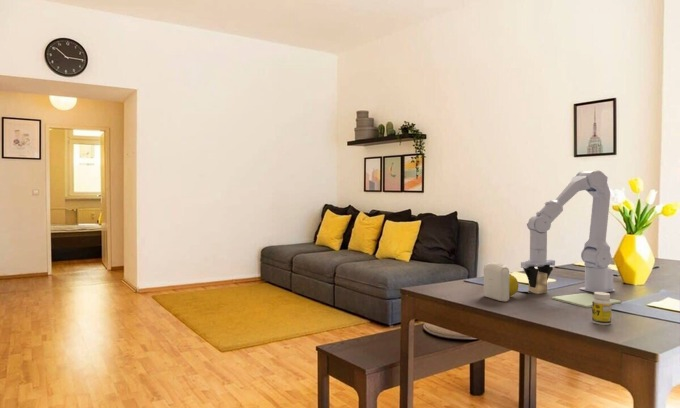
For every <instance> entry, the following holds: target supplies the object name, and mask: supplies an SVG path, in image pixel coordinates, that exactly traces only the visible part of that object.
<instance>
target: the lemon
mask: <svg viewBox="0 0 680 408" xmlns="http://www.w3.org/2000/svg"><path fill="white" fill-rule="evenodd" d="M518 290H519V282H518V279H517V277H515V276H514V275H512V274H511V273H509V298H511V297H512V296H513V295H516V293H517V292H518Z"/></svg>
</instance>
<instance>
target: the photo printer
mask: <svg viewBox="0 0 680 408" xmlns="http://www.w3.org/2000/svg"><path fill="white" fill-rule="evenodd" d="M509 274H510V270H509V268H508V267H507V266H506V265H504V264H502V263H500V262H496V261H495V262H487V263H485V264H484V267H483V296H484V297H486V298H489V299H491V300H494V301H495V300H496V301H500V302H509V300H510V297H509Z"/></svg>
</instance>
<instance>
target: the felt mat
mask: <svg viewBox="0 0 680 408" xmlns="http://www.w3.org/2000/svg"><path fill="white" fill-rule="evenodd" d="M593 299H595V298H594V294H592V293H588V292H581V293H573V294H564V295H558V296H557V295H555V296H551V300H555V301H559V302H563V303H567V304H571V305H574V306H578V307H582V308H586V309H588V308H589V309H590V308H592V301H593ZM609 300H610V301H611V305H616V304H622V301H621V300H618V299H614V298H610V299H609Z"/></svg>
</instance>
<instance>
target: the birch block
mask: <svg viewBox="0 0 680 408" xmlns="http://www.w3.org/2000/svg"><path fill="white" fill-rule="evenodd" d="M529 291H531V292H530V293H533V294H536V295H539V294H547V293H548V280H547V273H543V272H539V271H538V274H537V278H536V287H535V288H533V287H530V285H529V284H528V292H529Z"/></svg>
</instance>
